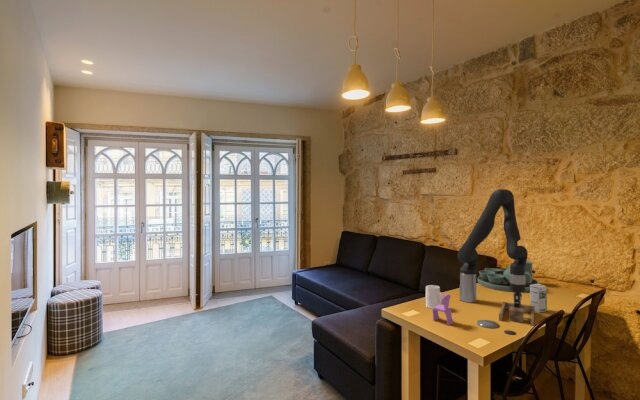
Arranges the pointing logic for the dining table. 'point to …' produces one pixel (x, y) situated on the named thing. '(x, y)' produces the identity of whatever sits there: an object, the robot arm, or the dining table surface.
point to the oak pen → (525, 307)
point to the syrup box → (538, 297)
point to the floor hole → (509, 332)
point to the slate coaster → (487, 324)
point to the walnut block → (516, 314)
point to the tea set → (504, 278)
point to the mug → (433, 296)
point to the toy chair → (443, 309)
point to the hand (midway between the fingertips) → (517, 311)
